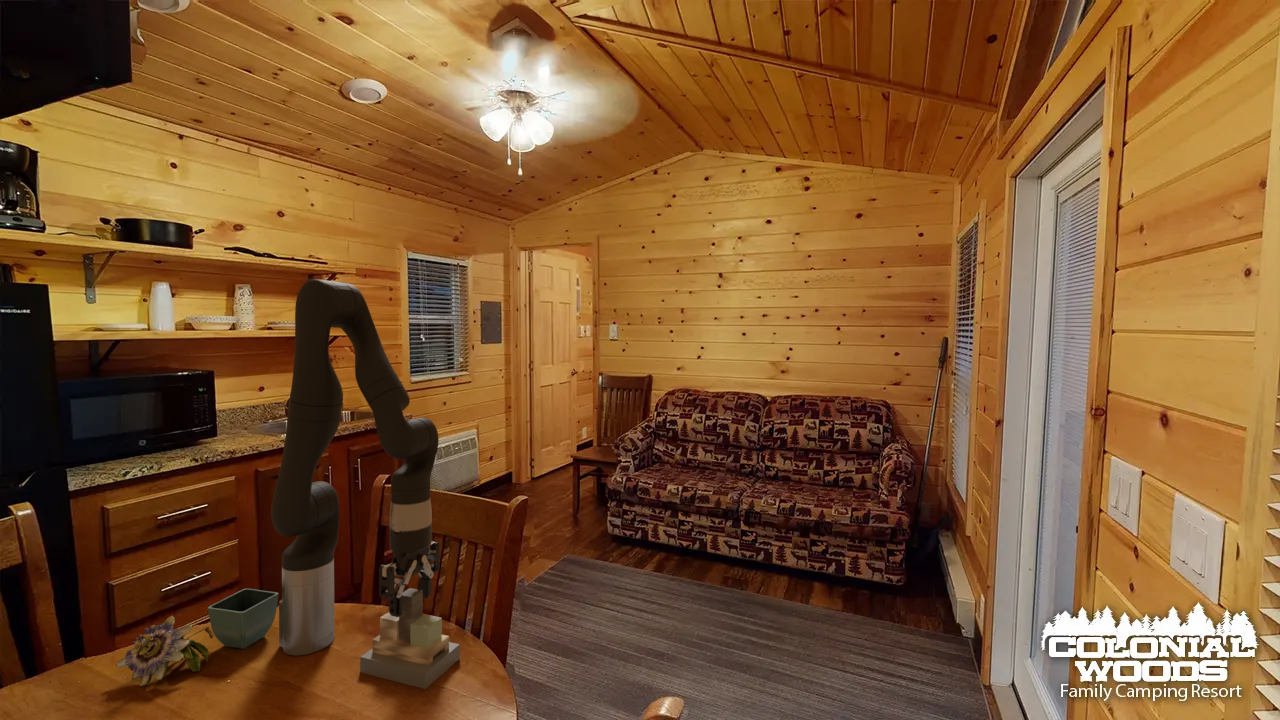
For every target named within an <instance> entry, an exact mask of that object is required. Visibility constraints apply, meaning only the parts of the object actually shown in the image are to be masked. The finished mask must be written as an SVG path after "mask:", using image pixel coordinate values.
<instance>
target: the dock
mask: <svg viewBox="0 0 1280 720" xmlns="http://www.w3.org/2000/svg"><path fill="white" fill-rule="evenodd" d="M460 649H461V647H460V643H456V642H451V641H449V649H448V650H447V651H445V652H444V651H439V652H438V653H437V654H436V655H435V656H433V662H432V663H431V664H430V665H429V666H427V665H423V664H419V663H415V662H411V661H407V660H403V659H398V658H394V657H390V656H386V655H382V654H378V653H374V652H372V648H370V649H369V650H368V651H367V652H365V653H364V654H362V655H361V656H360V657H359V660H360V662H359V669H360V670H359V672H360V673H362V674H365V675H369V676H374V677H377V678H381V679H385V680H389V681H392V682H396V683H400V684H404V685H407V686H411V687H414V686H415V688H418V687H420V688H419V689H422V688H423V690H426V689H427V688H429V687H430V685H432V684H433V683H434V682H435V681H436V680H437V679H438V678H440V677H441V676H442V675H443V674H444V673H445V672H446V671H448V670H449V669H450V668H451V667H452V666H453V665H454V664H456V663H457V662H458V661H459V660H460V655H461V654H460V653H461V652H460V651H461V650H460Z"/></svg>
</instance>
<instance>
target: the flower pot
mask: <svg viewBox="0 0 1280 720" xmlns="http://www.w3.org/2000/svg"><path fill="white" fill-rule="evenodd" d="M279 595H280V594H279V592H276V591H268V590H260V589H254V588H244V589H241V590H239V591H237V592H235V593H233V594H231V595H229V596H227V597H225V598H222V599H221V600H220V601H218V602H215V603H213V604H211V605H210V606H208V607H207V613H208V617H209V621H210V627H211V629H212V630H211V631H212V632H213V633H212V634H213V636H215V638H216V639H217V640H218V642H220V643H221V644H222V645H223V646H224V647H231V648H237V649H241V650H242V649H246V648H249V646H252V645H253V644H255V642H257V641H260V640H261V639H262V638H264V637H265V636H266V635H267V633H268V632H269V630H270V629H271V627H272V625H273V624H274V621H275V618H276V613H277V607H278V600H279Z"/></svg>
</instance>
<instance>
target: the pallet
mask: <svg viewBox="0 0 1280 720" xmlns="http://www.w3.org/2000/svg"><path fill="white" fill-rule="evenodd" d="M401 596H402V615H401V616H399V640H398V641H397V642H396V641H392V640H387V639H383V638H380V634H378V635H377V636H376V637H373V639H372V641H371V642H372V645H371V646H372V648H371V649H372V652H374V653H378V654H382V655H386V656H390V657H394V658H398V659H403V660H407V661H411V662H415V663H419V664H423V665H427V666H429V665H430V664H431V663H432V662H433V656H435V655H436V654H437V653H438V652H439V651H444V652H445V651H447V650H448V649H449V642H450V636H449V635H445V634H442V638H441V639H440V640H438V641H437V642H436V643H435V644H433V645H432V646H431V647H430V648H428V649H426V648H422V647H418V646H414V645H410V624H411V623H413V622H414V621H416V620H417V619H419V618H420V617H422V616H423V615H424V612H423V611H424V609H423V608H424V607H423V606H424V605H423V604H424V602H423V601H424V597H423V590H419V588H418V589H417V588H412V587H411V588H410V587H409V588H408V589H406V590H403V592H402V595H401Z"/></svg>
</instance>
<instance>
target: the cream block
mask: <svg viewBox="0 0 1280 720" xmlns="http://www.w3.org/2000/svg"><path fill="white" fill-rule="evenodd" d="M379 635H380V638H383V639H387V640H392V641H396V642H397V641H398V640H399V617H395V616H391V614H390V613H389V611H388V612H387V613H385V614H383V615H381V616H380V617H379Z"/></svg>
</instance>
